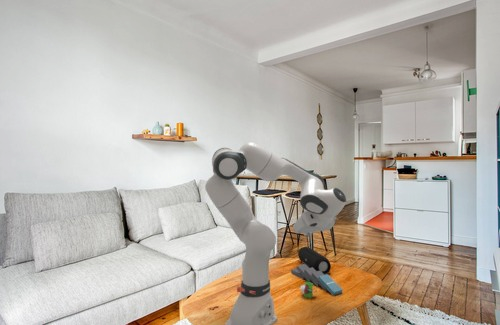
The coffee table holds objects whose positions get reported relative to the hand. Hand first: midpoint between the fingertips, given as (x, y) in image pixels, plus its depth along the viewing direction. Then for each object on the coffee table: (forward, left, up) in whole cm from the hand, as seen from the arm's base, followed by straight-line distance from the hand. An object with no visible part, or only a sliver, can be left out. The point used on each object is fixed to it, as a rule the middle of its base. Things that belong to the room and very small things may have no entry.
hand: (306, 234), depth 133 cm
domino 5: (+8, -12, -28) cm, 32 cm away
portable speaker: (+36, +9, -30) cm, 47 cm away
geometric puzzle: (0, 0, -29) cm, 29 cm away
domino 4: (+11, -8, -28) cm, 31 cm away
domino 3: (+14, -3, -28) cm, 32 cm away
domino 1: (+19, +7, -28) cm, 35 cm away
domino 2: (+17, +3, -28) cm, 33 cm away
